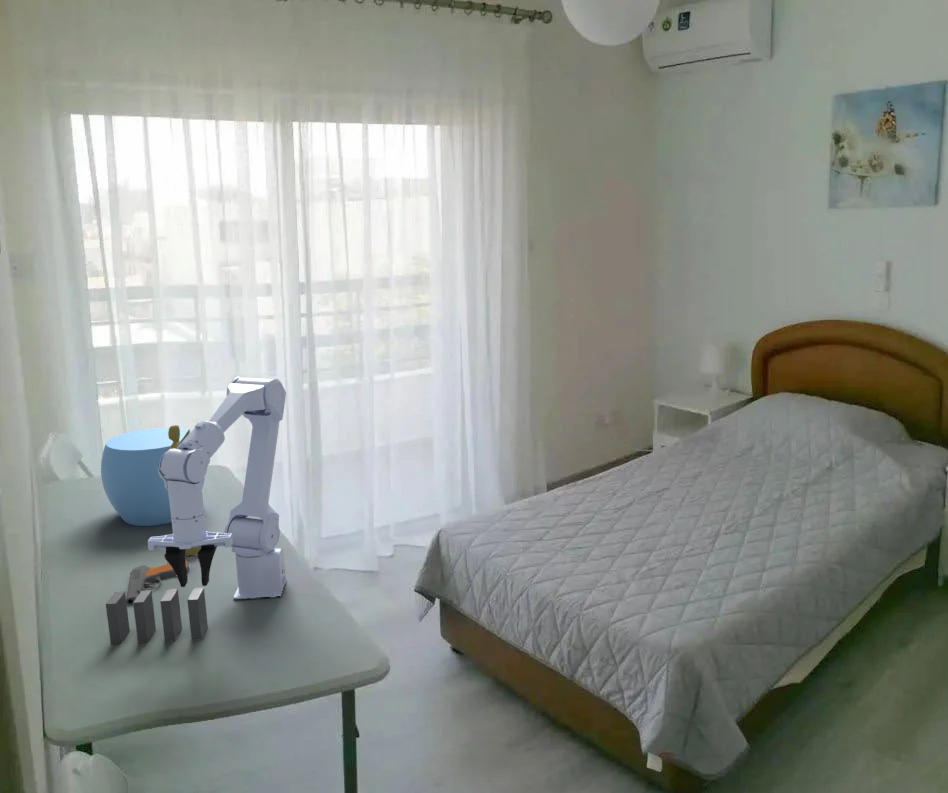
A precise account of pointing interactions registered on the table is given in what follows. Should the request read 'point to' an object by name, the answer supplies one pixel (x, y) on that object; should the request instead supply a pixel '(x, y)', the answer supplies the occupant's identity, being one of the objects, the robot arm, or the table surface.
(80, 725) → the table surface
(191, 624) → the domino
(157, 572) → the handgun
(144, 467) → the planter
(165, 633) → the domino
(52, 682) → the table surface
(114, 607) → the domino end
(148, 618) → the domino
